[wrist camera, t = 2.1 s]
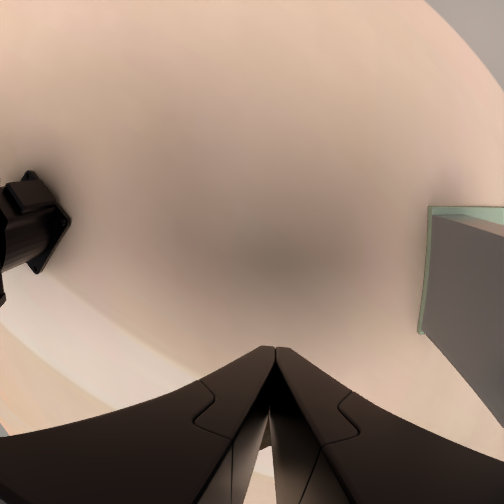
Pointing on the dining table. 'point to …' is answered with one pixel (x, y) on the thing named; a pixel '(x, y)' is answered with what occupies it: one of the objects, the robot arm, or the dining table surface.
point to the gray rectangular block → (469, 302)
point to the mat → (486, 213)
